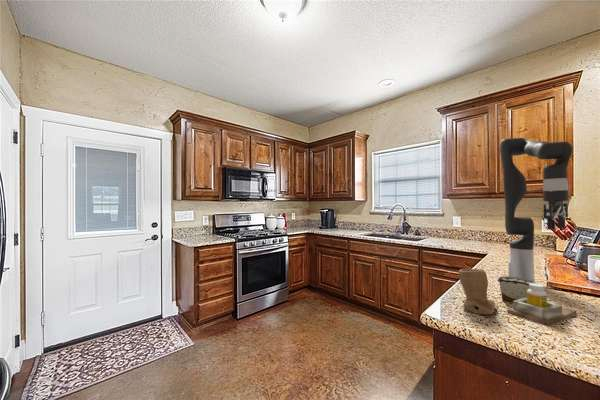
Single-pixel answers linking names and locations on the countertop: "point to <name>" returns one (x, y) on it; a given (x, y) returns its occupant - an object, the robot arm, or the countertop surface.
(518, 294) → the food container
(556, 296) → the countertop surface
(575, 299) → the countertop surface
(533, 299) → the supplement bottle
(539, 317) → the bottle holder
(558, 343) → the countertop surface
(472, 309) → the tan boot
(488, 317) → the countertop surface
